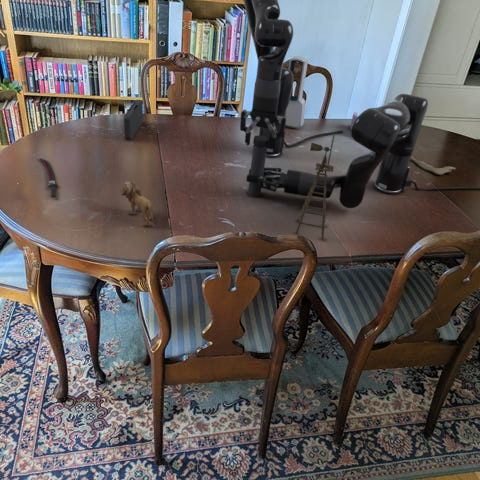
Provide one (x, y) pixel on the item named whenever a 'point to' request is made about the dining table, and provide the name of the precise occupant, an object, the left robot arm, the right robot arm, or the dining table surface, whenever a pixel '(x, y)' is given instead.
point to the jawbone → (432, 169)
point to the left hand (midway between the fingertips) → (260, 146)
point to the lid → (261, 141)
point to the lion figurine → (137, 201)
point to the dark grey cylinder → (257, 169)
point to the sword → (52, 181)
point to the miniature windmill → (320, 169)
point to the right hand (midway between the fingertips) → (248, 174)
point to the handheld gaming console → (133, 119)
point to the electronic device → (297, 104)
